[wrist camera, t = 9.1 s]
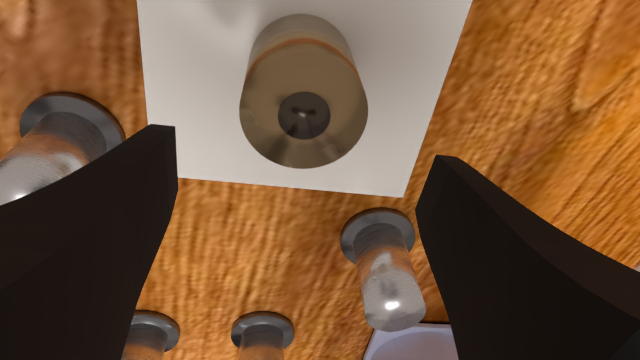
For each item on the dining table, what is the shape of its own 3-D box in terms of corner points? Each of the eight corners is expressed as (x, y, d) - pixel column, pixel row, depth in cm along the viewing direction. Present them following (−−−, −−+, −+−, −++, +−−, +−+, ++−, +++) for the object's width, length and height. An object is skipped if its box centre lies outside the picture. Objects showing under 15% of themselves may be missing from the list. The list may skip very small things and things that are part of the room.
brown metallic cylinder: (362, 22, 17) (382, 63, 13) (341, 118, 19) (353, 175, 16) (252, 5, 16) (242, 43, 13) (245, 107, 19) (235, 163, 15)
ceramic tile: (495, -84, 15) (501, -82, 15) (400, 191, 23) (403, 197, 22) (128, -157, 14) (122, -158, 13) (155, 168, 21) (152, 174, 21)
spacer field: (452, 136, 21) (495, 206, 17) (365, 355, 33) (377, 430, 28) (-76, 76, 18) (-198, 143, 13) (35, 344, 29) (-11, 427, 25)
